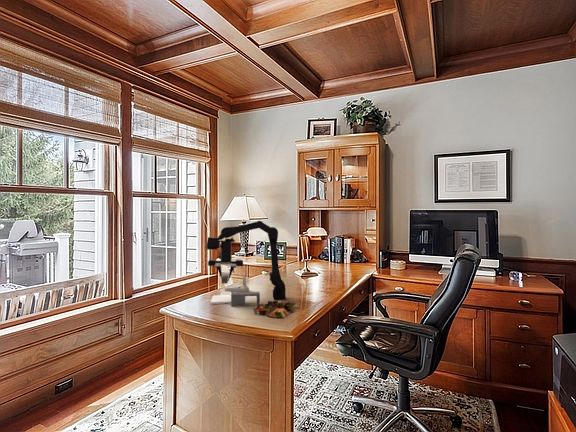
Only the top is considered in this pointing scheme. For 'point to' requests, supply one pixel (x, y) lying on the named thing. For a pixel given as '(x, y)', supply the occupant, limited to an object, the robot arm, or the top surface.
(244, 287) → the electronic device
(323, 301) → the top surface
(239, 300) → the grey notched block
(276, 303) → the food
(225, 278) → the plug
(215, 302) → the white mat
